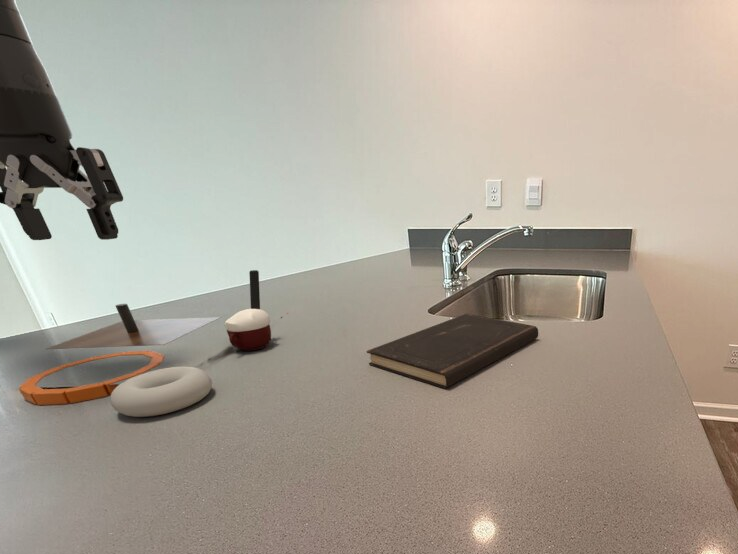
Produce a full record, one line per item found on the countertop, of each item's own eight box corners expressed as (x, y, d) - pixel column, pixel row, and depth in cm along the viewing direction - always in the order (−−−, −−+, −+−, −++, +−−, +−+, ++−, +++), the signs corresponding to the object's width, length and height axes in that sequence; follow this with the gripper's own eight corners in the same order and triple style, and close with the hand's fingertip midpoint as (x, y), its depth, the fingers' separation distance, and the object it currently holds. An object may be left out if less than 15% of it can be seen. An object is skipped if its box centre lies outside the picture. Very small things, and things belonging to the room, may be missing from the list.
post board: (49, 357, 67) (27, 319, 64) (126, 327, 82) (112, 295, 79) (167, 353, 68) (151, 315, 65) (223, 324, 82) (212, 292, 79)
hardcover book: (369, 365, 61) (366, 350, 60) (467, 325, 78) (466, 313, 77) (447, 390, 53) (446, 374, 52) (538, 339, 70) (538, 326, 69)
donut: (143, 391, 55) (97, 428, 46) (133, 368, 54) (83, 400, 45) (227, 381, 57) (197, 414, 48) (219, 359, 56) (187, 388, 47)
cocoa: (241, 359, 65) (215, 283, 59) (218, 353, 67) (192, 279, 62) (294, 340, 72) (275, 271, 67) (271, 335, 75) (252, 269, 70)
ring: (-8, 407, 51) (-16, 396, 51) (94, 362, 65) (89, 352, 64) (112, 402, 52) (106, 391, 51) (189, 358, 65) (185, 349, 65)
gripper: (102, 96, 50) (153, 236, 57) (-19, 95, 49) (47, 236, 56) (40, 82, 43) (107, 242, 50) (-100, 81, 43) (-13, 243, 50)
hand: (75, 239), depth 53 cm, fingers open, 8 cm apart
